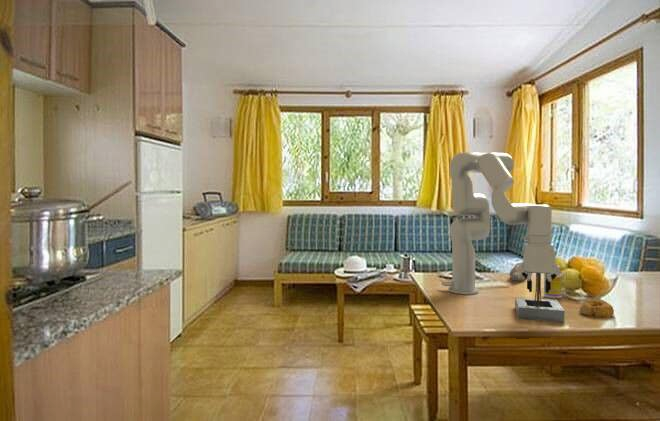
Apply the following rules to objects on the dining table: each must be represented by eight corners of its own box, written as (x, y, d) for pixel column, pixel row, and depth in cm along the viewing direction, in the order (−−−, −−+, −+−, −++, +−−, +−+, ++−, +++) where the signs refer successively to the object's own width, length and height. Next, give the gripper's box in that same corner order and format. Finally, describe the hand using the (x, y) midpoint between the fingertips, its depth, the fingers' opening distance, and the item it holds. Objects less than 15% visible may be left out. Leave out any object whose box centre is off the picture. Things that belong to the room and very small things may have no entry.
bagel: (572, 311, 161) (572, 298, 161) (600, 310, 162) (601, 297, 162) (590, 319, 151) (591, 305, 151) (620, 318, 152) (621, 305, 152)
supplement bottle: (563, 299, 178) (564, 267, 177) (546, 298, 179) (546, 267, 179) (558, 295, 185) (559, 264, 184) (541, 294, 186) (542, 264, 185)
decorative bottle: (514, 274, 231) (514, 261, 231) (529, 276, 227) (530, 263, 227) (505, 283, 209) (505, 269, 209) (522, 285, 205) (523, 271, 205)
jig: (518, 319, 151) (518, 307, 151) (514, 307, 166) (515, 297, 165) (564, 322, 147) (564, 310, 147) (556, 310, 161) (556, 299, 161)
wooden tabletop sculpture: (537, 311, 160) (538, 256, 159) (549, 314, 156) (550, 258, 155) (527, 314, 157) (528, 258, 156) (540, 317, 153) (541, 259, 152)
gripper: (513, 240, 154) (513, 292, 155) (568, 242, 149) (567, 295, 150) (512, 238, 161) (511, 288, 162) (564, 239, 156) (563, 291, 157)
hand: (538, 291), depth 156 cm, fingers open, 4 cm apart
